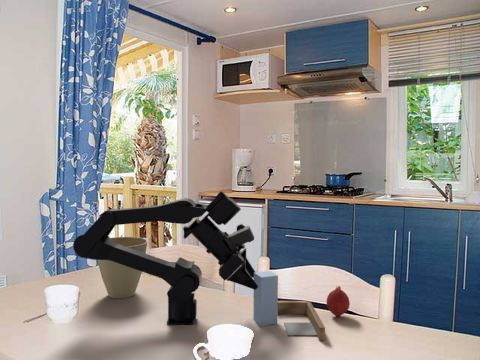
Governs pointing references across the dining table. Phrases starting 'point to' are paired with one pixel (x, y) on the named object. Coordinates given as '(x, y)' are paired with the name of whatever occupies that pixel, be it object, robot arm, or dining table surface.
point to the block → (266, 298)
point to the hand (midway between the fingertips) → (256, 282)
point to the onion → (338, 302)
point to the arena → (302, 328)
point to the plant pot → (122, 270)
